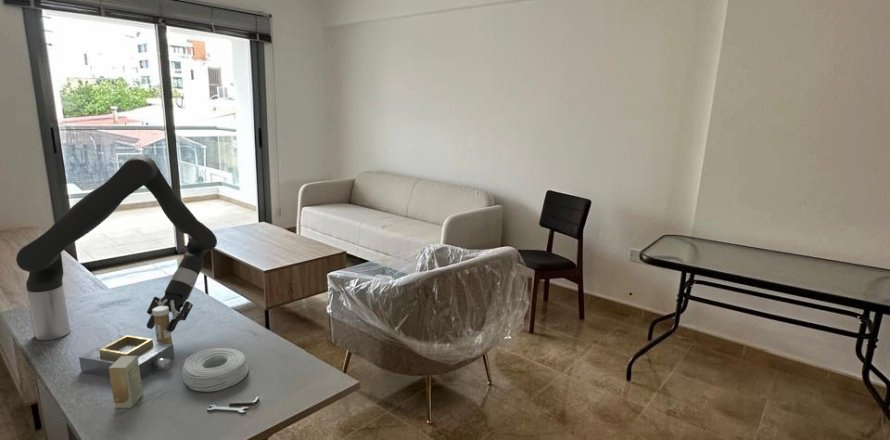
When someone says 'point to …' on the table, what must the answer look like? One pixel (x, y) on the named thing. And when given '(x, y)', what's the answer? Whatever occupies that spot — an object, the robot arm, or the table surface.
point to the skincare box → (125, 381)
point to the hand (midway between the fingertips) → (159, 329)
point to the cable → (214, 369)
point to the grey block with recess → (146, 349)
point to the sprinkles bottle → (162, 324)
